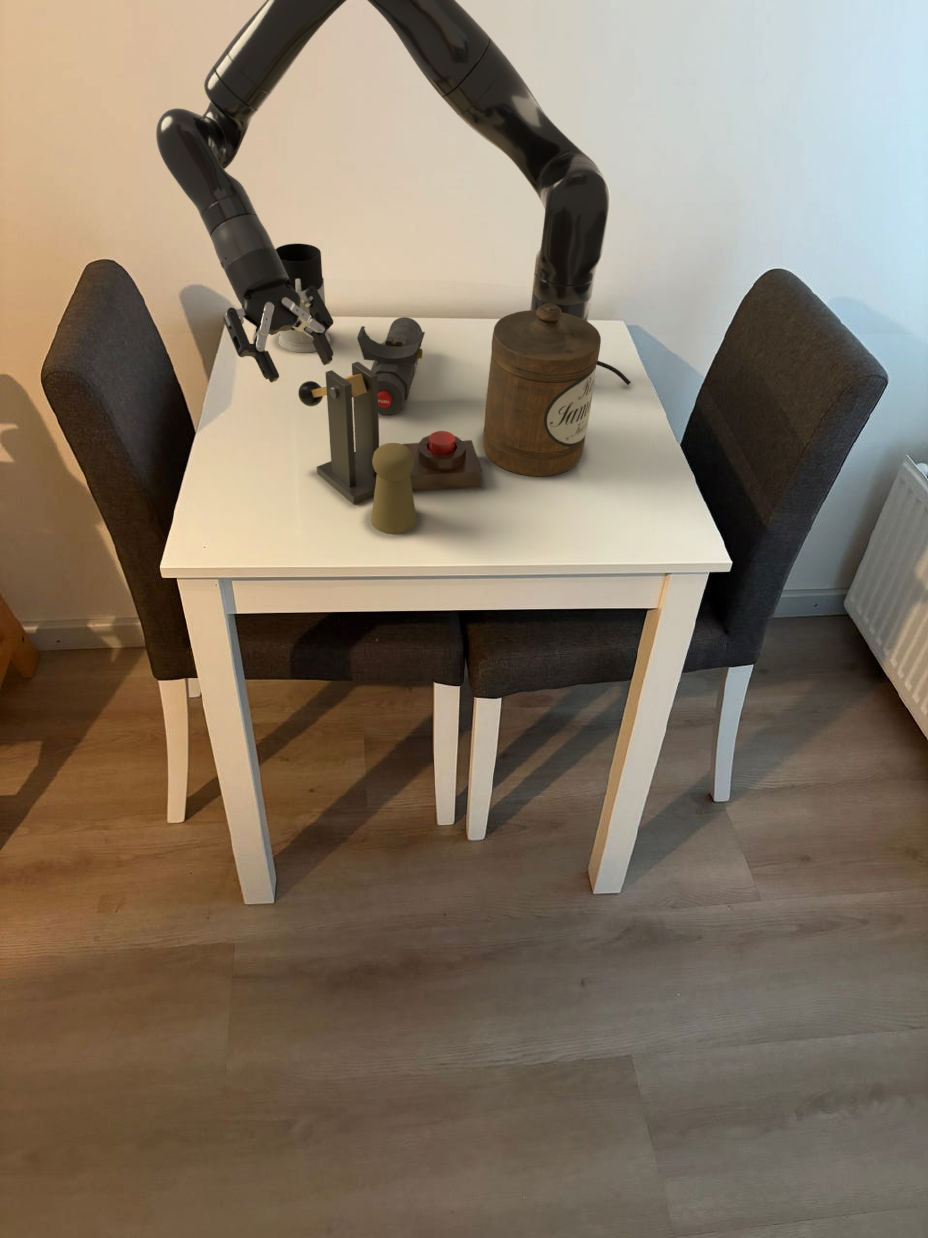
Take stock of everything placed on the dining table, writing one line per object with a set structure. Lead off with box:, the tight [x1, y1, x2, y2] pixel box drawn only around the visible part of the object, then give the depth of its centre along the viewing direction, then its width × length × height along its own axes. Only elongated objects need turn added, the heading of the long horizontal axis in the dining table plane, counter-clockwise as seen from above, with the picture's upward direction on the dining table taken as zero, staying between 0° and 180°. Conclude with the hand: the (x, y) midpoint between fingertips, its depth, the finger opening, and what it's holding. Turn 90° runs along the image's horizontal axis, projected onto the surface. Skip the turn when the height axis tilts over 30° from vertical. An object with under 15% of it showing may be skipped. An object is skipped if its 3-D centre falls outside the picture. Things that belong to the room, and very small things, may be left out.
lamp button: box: [428, 430, 456, 455], centre depth 122 cm, size 4×4×2 cm
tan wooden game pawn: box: [370, 442, 418, 535], centre depth 114 cm, size 6×6×11 cm
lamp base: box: [402, 434, 483, 492], centre depth 124 cm, size 10×8×4 cm
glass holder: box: [275, 243, 331, 353], centre depth 145 cm, size 9×14×15 cm, turn 8°
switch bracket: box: [316, 361, 380, 505], centre depth 118 cm, size 9×7×16 cm
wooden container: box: [482, 303, 602, 477], centre depth 124 cm, size 15×15×22 cm
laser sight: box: [356, 316, 426, 416], centre depth 140 cm, size 10×22×10 cm, turn 174°
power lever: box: [297, 374, 367, 407], centre depth 118 cm, size 15×3×3 cm, turn 39°
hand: (302, 371), depth 122 cm, fingers open, 8 cm apart
